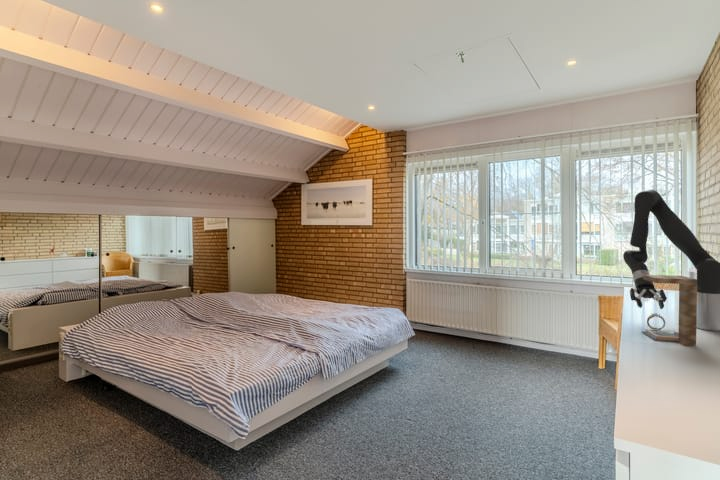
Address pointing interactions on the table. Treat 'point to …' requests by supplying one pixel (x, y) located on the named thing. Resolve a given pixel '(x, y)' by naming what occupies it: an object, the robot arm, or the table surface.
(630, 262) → the robot arm
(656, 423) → the table surface
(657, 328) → the ring
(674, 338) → the seat
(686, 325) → the shelf
